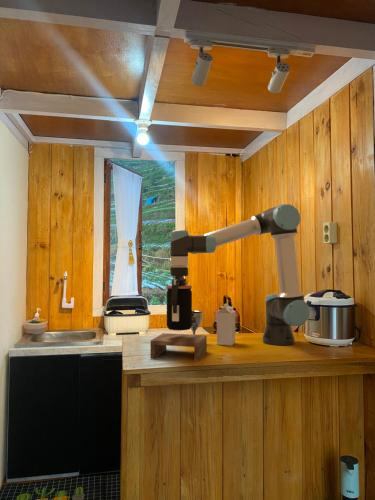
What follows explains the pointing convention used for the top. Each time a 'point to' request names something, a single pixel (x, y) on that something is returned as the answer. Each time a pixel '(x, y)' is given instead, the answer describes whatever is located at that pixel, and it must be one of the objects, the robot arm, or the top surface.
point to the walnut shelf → (179, 343)
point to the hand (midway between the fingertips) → (179, 319)
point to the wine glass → (196, 320)
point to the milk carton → (226, 326)
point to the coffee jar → (180, 308)
